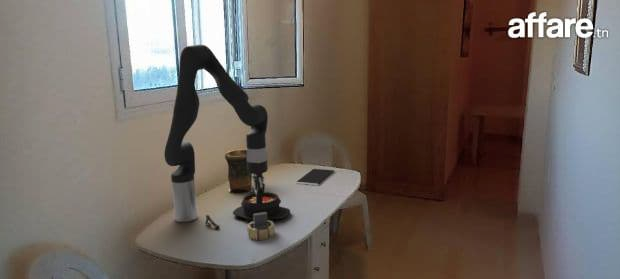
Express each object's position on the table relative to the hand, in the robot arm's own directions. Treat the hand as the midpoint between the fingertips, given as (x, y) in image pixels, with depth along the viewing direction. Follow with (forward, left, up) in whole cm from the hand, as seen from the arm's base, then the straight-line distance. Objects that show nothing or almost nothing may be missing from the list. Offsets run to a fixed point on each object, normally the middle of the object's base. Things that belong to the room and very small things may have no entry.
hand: (259, 203), depth 166 cm
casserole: (-19, +4, -13) cm, 23 cm away
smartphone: (-63, +43, -14) cm, 78 cm away
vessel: (-57, +1, -13) cm, 59 cm away
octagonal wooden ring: (0, 0, -13) cm, 13 cm away
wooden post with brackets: (-15, -18, -13) cm, 26 cm away
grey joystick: (0, 0, -10) cm, 10 cm away
